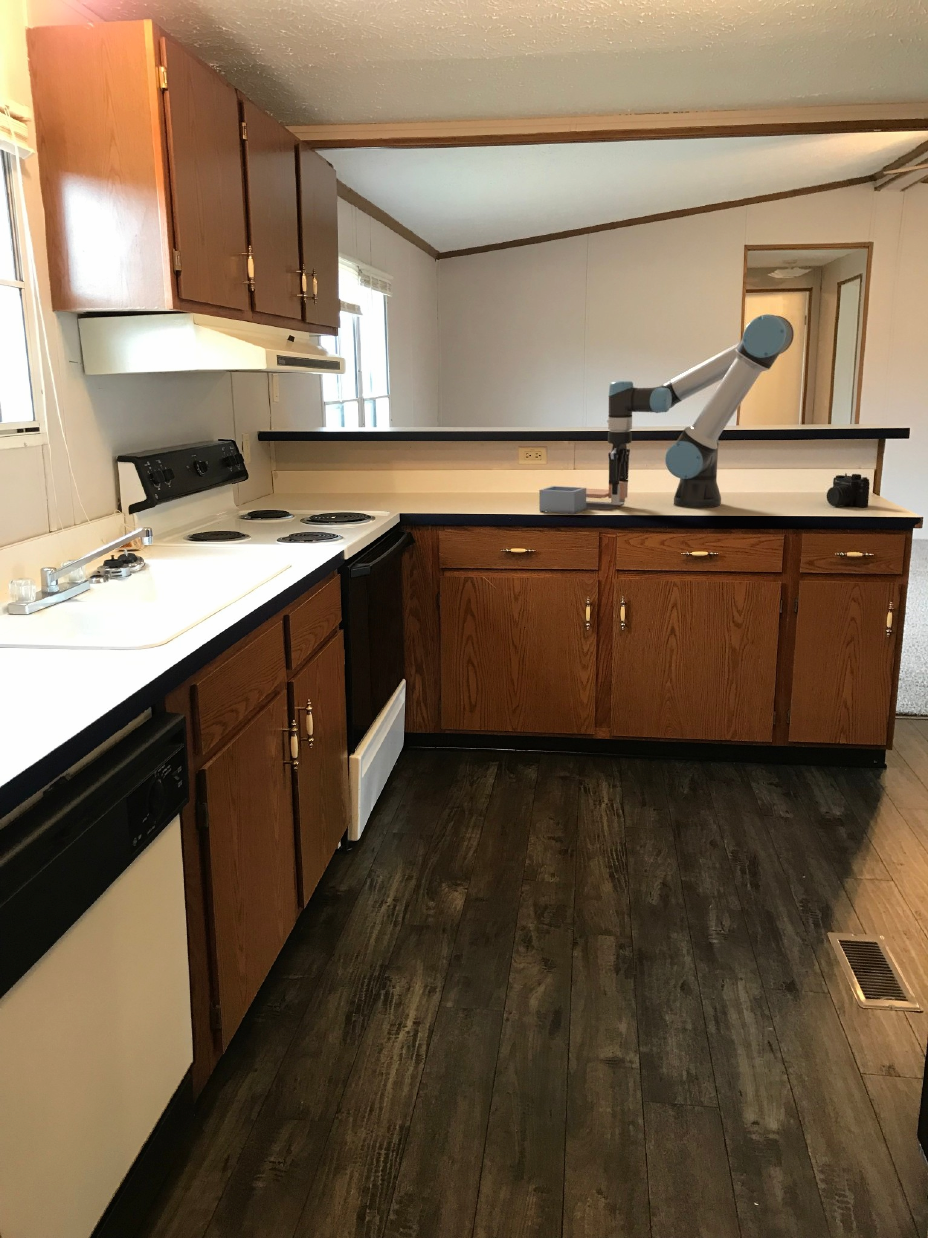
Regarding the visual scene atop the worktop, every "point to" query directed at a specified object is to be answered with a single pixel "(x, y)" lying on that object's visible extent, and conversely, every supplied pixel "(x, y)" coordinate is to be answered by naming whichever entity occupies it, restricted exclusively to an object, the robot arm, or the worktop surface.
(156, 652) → the worktop surface
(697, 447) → the robot arm
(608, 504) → the mat
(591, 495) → the lid
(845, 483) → the camera
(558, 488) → the tub
